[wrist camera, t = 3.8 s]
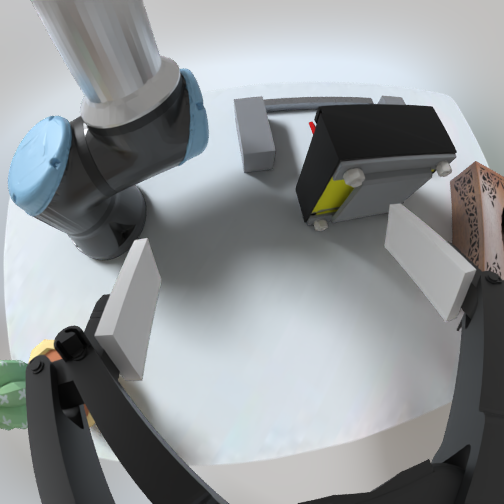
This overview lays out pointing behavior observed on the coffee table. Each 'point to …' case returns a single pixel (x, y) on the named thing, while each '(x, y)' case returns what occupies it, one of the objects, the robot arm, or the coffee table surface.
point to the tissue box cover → (479, 217)
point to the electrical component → (369, 159)
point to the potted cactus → (22, 388)
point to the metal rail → (311, 102)
